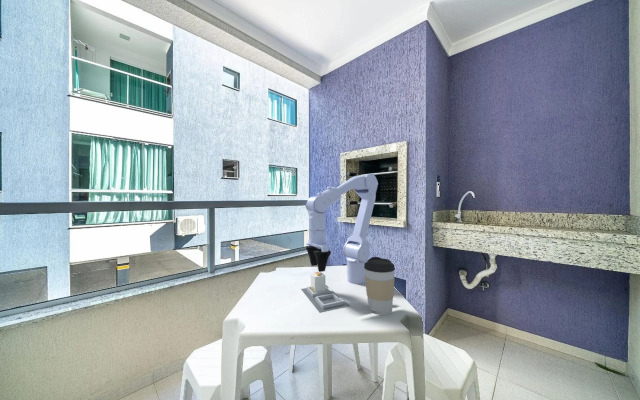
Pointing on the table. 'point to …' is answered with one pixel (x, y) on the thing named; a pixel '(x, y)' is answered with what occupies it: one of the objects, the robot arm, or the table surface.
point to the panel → (325, 299)
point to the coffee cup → (379, 285)
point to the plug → (318, 282)
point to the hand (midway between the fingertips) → (317, 268)
